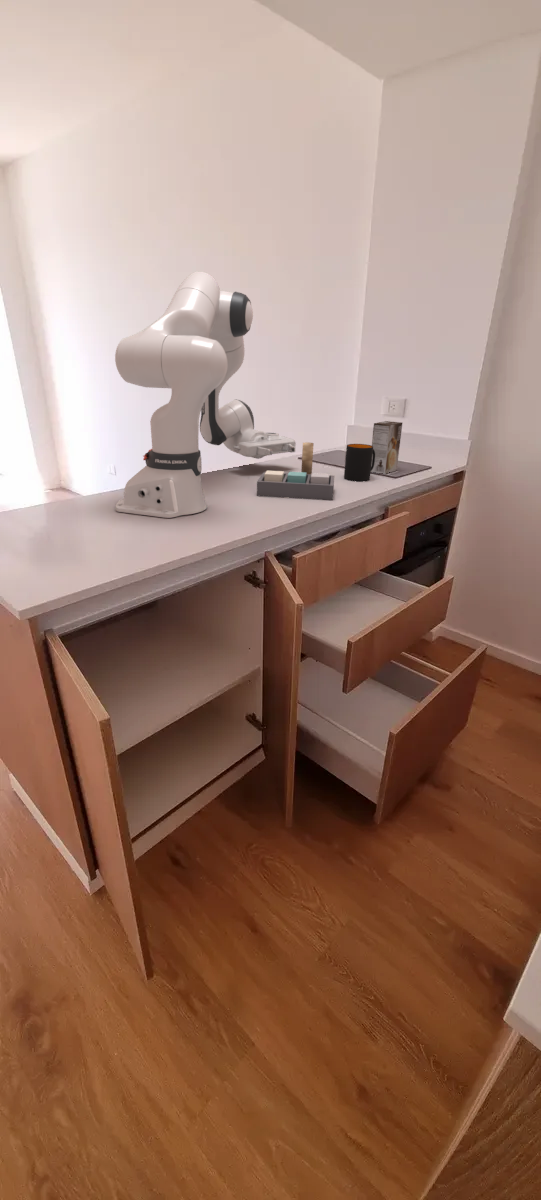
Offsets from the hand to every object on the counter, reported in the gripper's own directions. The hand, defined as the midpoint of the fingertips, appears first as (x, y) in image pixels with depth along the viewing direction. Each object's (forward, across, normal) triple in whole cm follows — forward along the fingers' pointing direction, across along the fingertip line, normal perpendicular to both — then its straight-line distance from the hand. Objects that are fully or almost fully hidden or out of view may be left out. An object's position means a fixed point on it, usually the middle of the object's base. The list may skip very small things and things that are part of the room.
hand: (282, 451), depth 165 cm
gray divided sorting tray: (+19, -10, +8) cm, 23 cm away
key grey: (+24, -6, +5) cm, 25 cm away
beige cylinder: (+12, 0, +8) cm, 15 cm away
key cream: (+15, -15, +5) cm, 22 cm away
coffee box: (+12, +35, +8) cm, 38 cm away
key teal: (+19, -10, +5) cm, 23 cm away
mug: (+16, +20, +8) cm, 27 cm away
